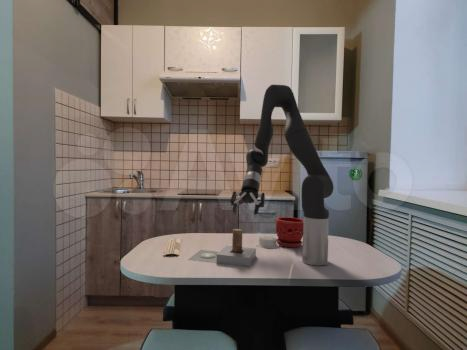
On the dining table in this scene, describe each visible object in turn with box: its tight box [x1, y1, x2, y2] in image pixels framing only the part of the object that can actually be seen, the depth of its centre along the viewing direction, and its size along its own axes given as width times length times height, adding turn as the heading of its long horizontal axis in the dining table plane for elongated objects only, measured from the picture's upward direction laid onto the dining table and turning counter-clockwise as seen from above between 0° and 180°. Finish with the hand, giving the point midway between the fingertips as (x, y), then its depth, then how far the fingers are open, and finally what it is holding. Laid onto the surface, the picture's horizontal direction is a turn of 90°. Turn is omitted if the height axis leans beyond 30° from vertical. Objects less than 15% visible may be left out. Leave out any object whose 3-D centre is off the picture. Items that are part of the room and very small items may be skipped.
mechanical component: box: [255, 235, 280, 249], centre depth 130 cm, size 10×4×10 cm
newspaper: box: [162, 237, 181, 257], centre depth 126 cm, size 24×7×2 cm, turn 8°
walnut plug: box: [231, 228, 243, 254], centre depth 109 cm, size 4×4×11 cm
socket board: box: [187, 245, 257, 268], centre depth 111 cm, size 23×13×4 cm, turn 75°
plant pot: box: [275, 216, 303, 248], centre depth 135 cm, size 13×13×12 cm
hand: (244, 213), depth 120 cm, fingers open, 8 cm apart
